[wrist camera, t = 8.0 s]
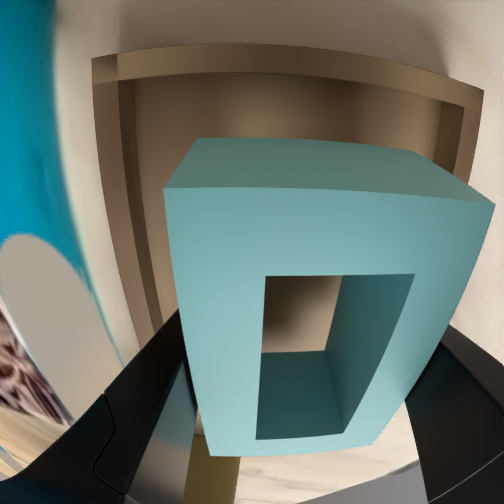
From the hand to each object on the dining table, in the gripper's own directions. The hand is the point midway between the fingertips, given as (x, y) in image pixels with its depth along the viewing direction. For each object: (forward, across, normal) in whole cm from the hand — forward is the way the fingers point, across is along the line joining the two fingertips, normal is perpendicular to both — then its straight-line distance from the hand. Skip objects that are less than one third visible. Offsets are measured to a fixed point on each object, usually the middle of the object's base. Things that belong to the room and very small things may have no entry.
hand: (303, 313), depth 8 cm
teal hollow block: (+1, 0, 0) cm, 1 cm away
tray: (+3, 0, +1) cm, 4 cm away
